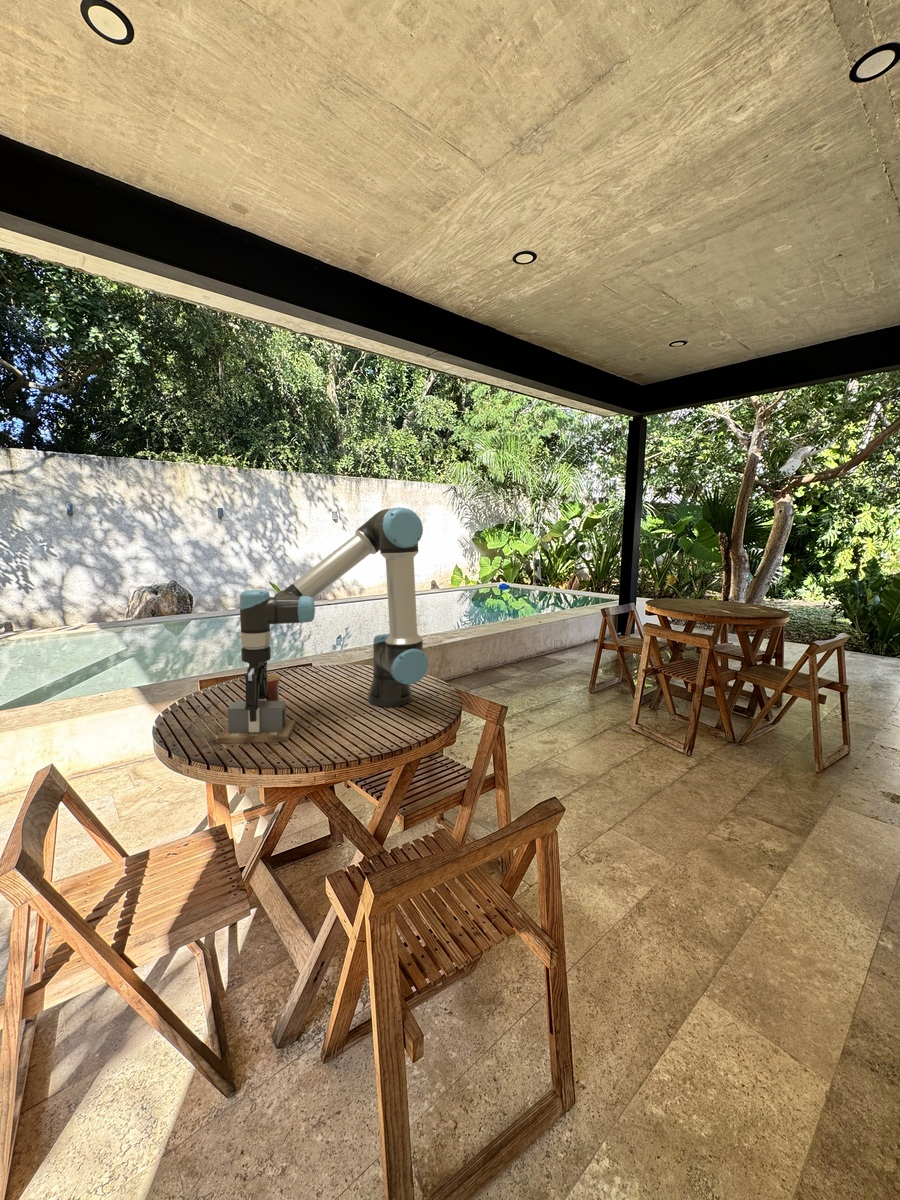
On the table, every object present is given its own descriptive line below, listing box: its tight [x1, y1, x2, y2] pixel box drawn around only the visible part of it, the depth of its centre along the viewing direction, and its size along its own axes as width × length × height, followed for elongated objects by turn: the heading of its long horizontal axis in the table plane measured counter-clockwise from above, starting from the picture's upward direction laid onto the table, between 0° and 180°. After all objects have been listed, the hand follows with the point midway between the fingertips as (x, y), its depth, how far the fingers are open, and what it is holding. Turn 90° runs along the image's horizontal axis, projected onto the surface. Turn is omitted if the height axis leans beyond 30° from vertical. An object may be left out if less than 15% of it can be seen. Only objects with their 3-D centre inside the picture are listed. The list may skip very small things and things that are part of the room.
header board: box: [216, 719, 296, 745], centre depth 138 cm, size 18×12×6 cm, turn 97°
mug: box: [265, 673, 281, 701], centre depth 156 cm, size 12×9×10 cm
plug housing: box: [227, 700, 287, 733], centre depth 137 cm, size 14×6×7 cm, turn 97°
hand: (258, 726), depth 138 cm, fingers open, 7 cm apart
